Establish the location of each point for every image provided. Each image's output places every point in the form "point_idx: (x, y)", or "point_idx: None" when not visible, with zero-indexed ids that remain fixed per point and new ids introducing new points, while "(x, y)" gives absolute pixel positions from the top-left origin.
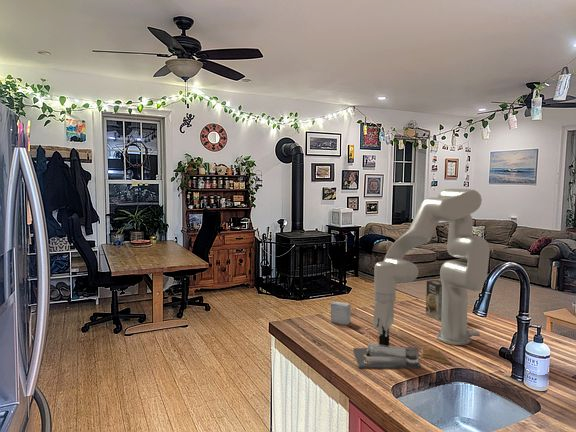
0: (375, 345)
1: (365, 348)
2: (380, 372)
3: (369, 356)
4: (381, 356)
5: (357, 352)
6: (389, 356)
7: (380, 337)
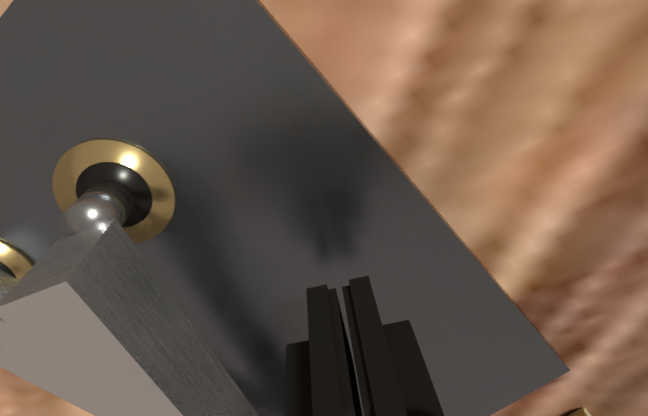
0: (86, 395)
1: (278, 41)
2: (6, 389)
3: None
4: (224, 300)
5: (61, 30)
6: (285, 343)
7: (317, 403)
